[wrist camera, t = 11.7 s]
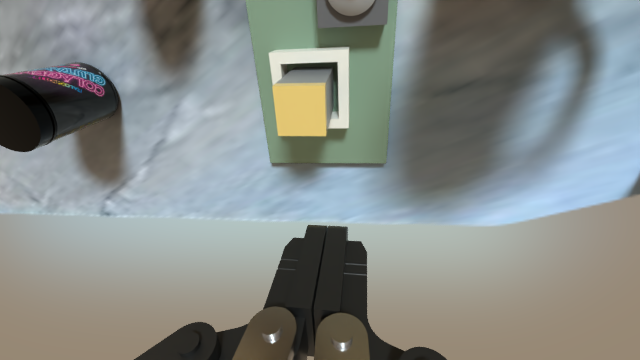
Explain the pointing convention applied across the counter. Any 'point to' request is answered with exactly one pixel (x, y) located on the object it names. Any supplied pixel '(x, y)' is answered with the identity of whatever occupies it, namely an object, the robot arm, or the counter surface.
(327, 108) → the plug
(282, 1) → the header board
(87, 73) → the supplement container
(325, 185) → the counter surface
